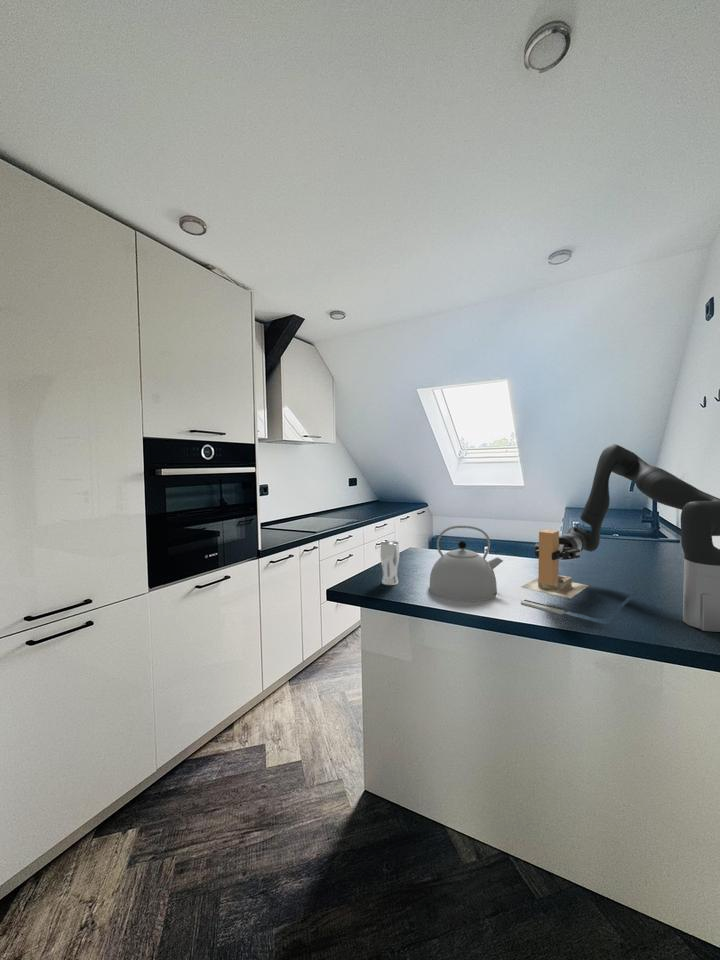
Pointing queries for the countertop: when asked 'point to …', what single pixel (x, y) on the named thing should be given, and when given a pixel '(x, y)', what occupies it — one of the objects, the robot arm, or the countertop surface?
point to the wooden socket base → (557, 587)
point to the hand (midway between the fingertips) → (545, 555)
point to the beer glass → (389, 562)
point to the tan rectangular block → (548, 557)
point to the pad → (544, 607)
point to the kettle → (464, 573)
